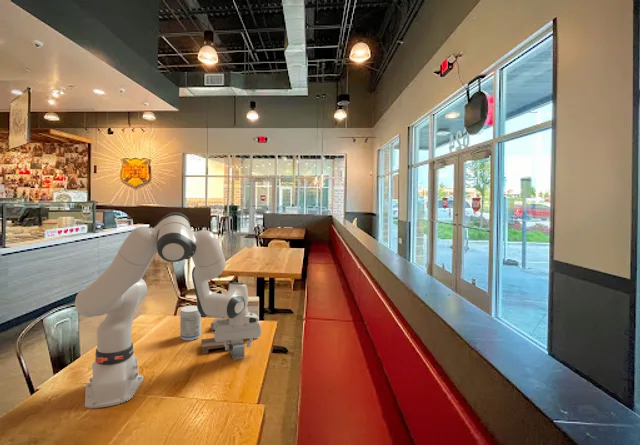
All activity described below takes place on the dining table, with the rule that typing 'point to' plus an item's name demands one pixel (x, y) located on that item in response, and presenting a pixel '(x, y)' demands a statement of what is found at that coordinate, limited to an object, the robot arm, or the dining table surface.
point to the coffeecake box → (253, 306)
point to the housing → (237, 349)
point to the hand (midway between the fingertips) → (237, 348)
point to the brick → (216, 322)
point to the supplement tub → (190, 323)
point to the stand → (212, 344)
